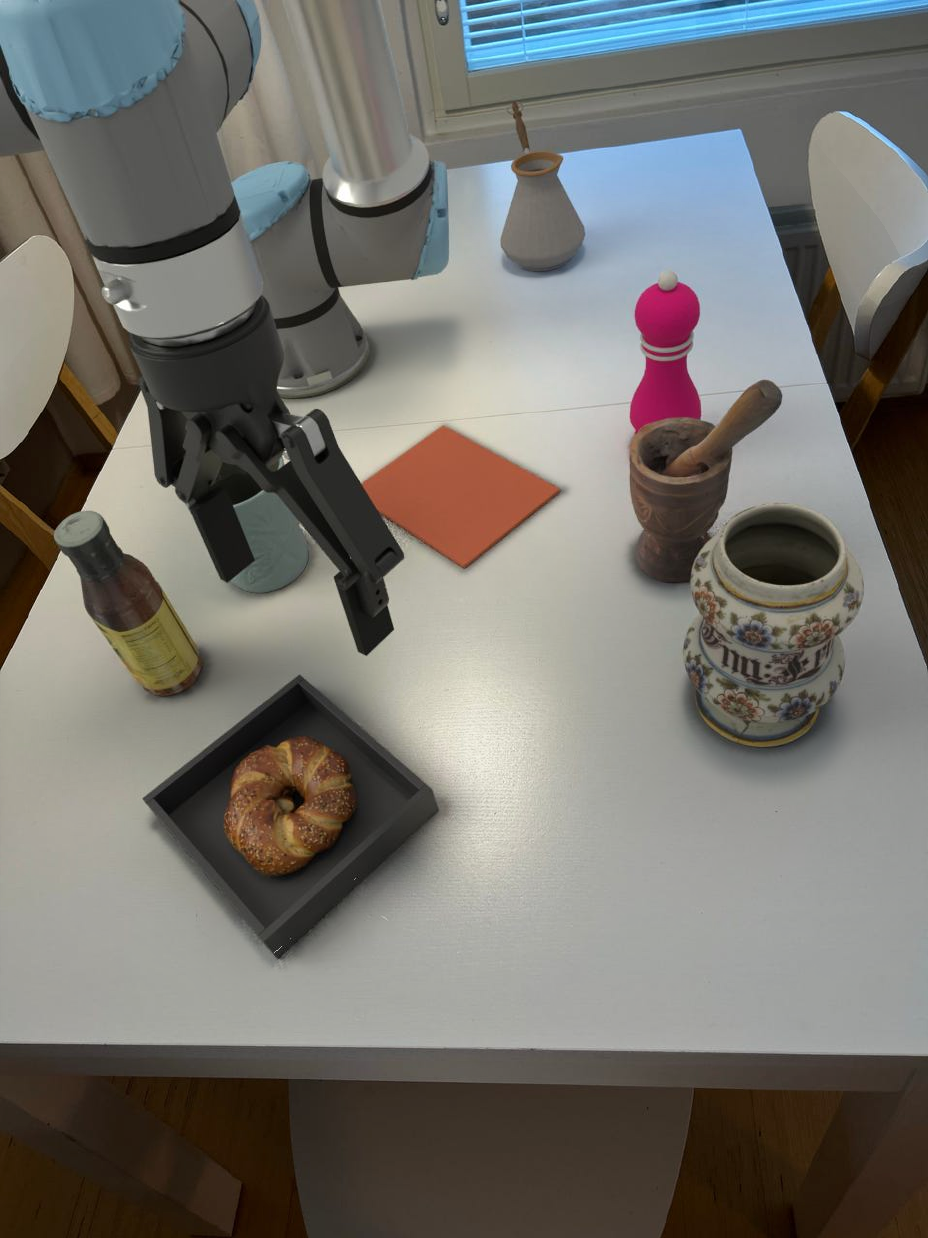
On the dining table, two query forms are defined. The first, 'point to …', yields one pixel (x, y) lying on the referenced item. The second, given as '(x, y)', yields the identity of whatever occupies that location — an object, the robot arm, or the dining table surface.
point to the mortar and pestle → (688, 480)
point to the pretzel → (288, 804)
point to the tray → (368, 837)
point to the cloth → (456, 495)
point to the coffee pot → (539, 210)
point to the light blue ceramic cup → (264, 532)
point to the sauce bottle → (129, 607)
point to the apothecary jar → (770, 622)
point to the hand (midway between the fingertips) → (303, 603)
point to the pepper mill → (666, 352)
